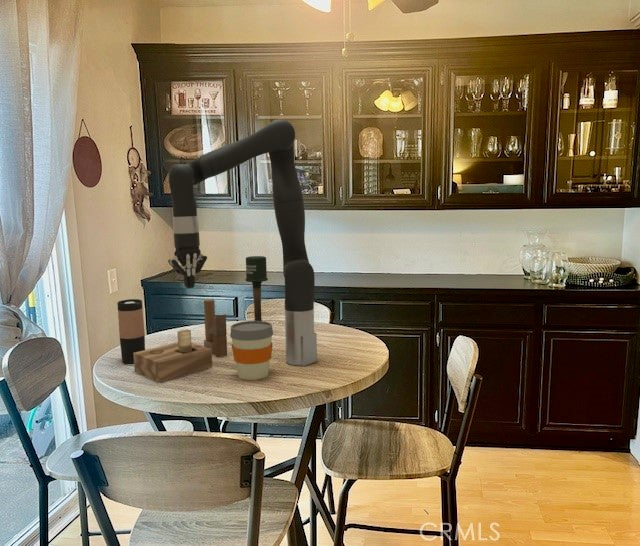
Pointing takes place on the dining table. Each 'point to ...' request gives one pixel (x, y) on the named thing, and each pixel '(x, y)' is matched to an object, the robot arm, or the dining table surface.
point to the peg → (184, 341)
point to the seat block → (171, 362)
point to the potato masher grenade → (256, 280)
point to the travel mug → (131, 328)
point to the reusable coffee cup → (252, 348)
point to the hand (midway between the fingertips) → (190, 287)
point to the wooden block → (215, 330)
